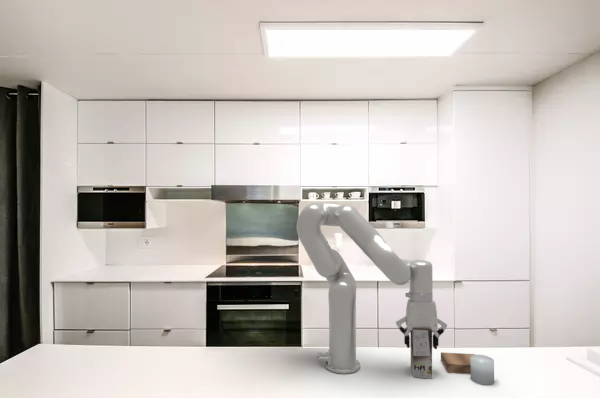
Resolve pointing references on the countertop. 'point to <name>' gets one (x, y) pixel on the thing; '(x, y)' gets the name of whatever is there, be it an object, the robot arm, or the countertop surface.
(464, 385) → the countertop surface
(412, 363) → the coffee box
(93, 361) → the countertop surface
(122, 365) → the countertop surface
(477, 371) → the pale grey rounded cylinder
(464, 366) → the walnut slab
